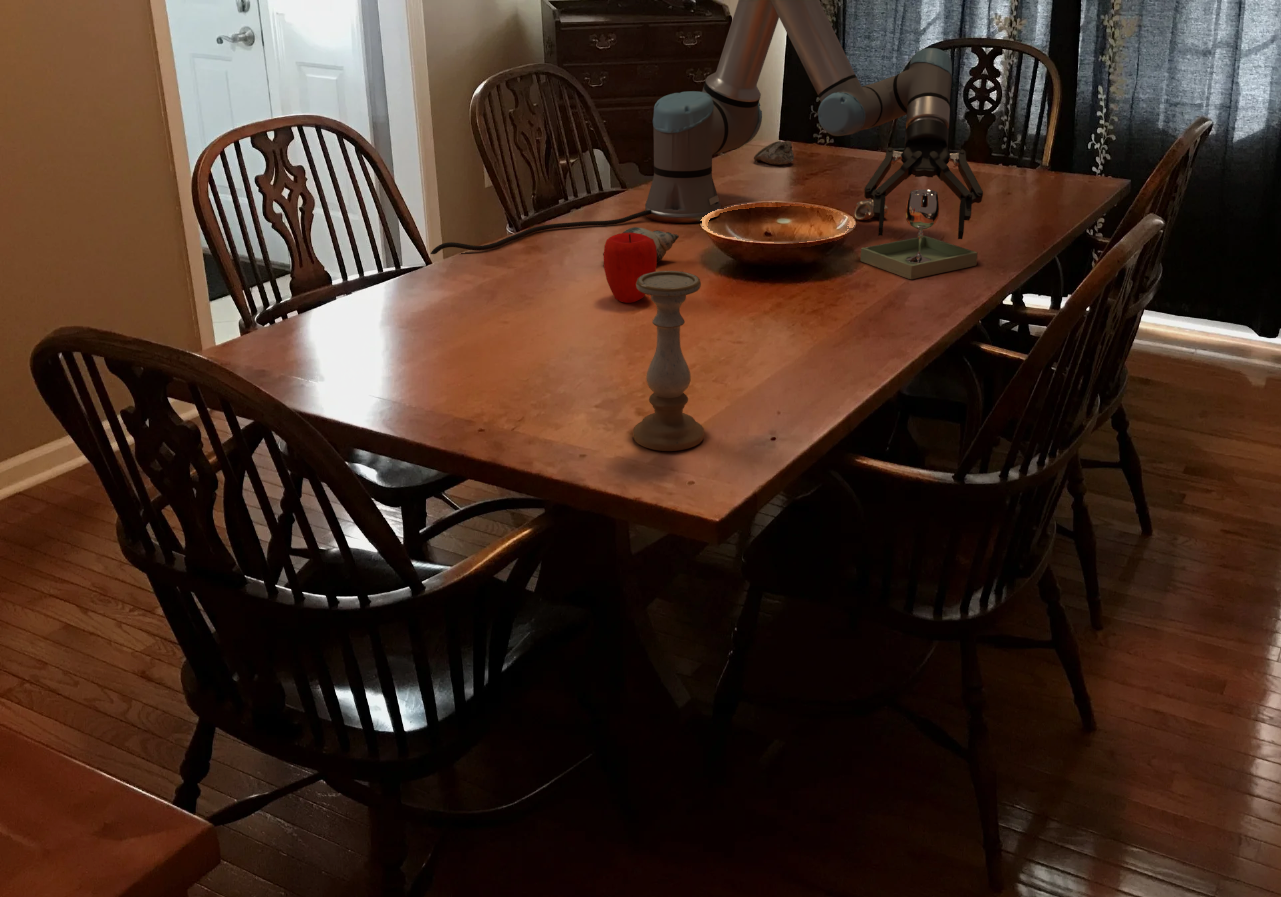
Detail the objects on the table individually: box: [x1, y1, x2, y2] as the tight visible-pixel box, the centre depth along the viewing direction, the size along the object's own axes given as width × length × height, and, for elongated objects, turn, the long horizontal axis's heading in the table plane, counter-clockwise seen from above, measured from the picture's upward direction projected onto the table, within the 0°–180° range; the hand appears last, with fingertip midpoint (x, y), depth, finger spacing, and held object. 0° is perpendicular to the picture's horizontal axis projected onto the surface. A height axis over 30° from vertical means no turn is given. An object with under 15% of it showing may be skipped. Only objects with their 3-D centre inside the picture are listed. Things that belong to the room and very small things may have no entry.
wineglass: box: [904, 188, 940, 263], centre depth 221 cm, size 6×6×12 cm
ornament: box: [853, 198, 889, 221], centre depth 252 cm, size 8×7×4 cm
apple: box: [603, 232, 658, 304], centre depth 205 cm, size 9×9×11 cm
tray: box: [859, 235, 978, 280], centre depth 223 cm, size 15×13×2 cm
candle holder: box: [632, 270, 705, 452], centre depth 153 cm, size 9×9×20 cm
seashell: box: [602, 226, 679, 263], centre depth 225 cm, size 6×8×12 cm
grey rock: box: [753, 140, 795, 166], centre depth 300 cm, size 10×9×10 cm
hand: (920, 233), depth 219 cm, fingers open, 13 cm apart
